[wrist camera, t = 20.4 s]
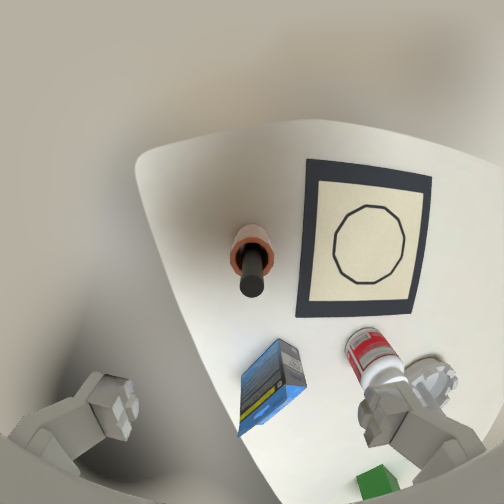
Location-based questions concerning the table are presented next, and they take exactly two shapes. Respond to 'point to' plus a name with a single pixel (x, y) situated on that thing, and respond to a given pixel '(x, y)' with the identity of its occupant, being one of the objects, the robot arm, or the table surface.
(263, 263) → the pen cup
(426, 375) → the flag stand
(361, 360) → the pill bottle
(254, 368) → the blue retail box
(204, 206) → the table surface
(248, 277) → the marker
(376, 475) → the hardback book
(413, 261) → the desk mat
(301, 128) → the table surface
